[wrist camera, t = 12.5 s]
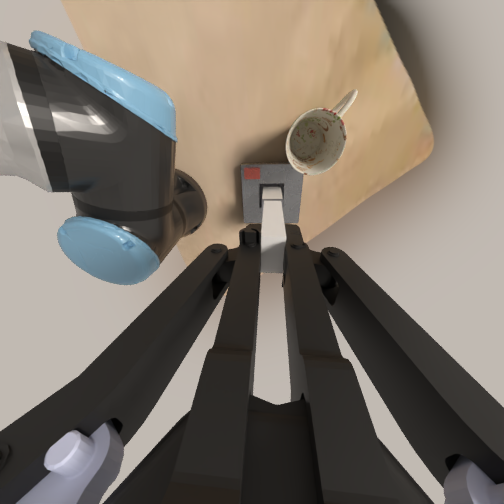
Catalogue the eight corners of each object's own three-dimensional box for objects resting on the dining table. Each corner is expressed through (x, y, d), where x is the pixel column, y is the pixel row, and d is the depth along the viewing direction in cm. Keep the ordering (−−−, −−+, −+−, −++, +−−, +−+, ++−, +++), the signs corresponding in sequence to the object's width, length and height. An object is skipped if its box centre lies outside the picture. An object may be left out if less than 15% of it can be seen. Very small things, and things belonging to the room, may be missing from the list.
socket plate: (245, 219, 45) (243, 223, 43) (241, 163, 39) (240, 165, 36) (297, 219, 44) (298, 224, 42) (303, 162, 38) (305, 164, 35)
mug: (272, 144, 36) (273, 150, 28) (324, 72, 30) (345, 52, 22) (304, 173, 39) (314, 186, 30) (358, 111, 33) (389, 107, 24)
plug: (263, 203, 42) (261, 220, 35) (263, 186, 41) (261, 200, 33) (279, 203, 42) (281, 220, 35) (280, 186, 40) (282, 200, 33)
